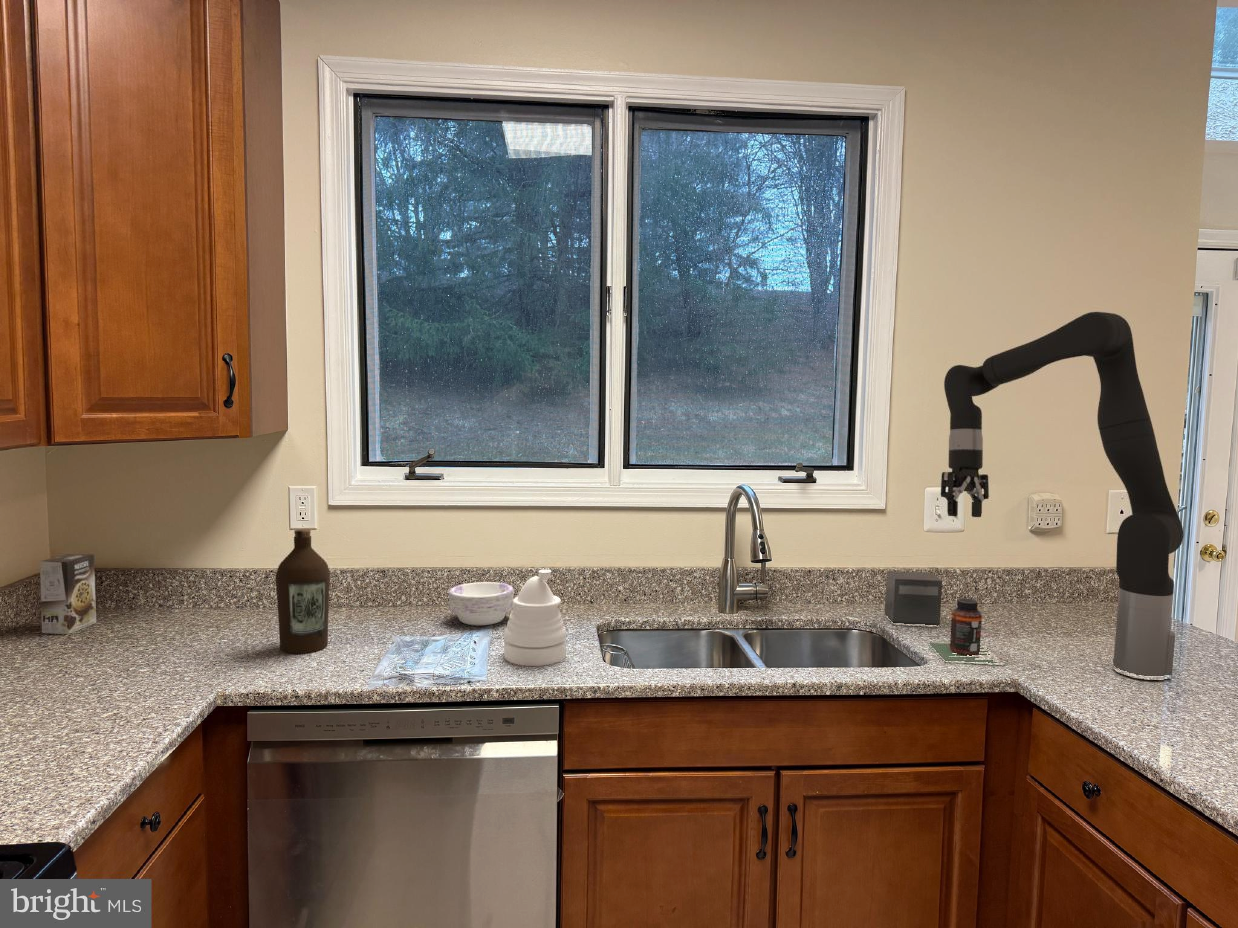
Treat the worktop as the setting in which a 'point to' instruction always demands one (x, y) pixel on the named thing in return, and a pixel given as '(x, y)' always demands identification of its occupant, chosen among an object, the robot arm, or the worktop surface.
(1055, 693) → the worktop surface
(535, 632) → the honey pot
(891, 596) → the charcoal unit
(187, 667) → the worktop surface
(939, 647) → the sage mat
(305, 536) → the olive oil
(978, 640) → the supplement bottle
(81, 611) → the coffee box
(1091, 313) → the robot arm
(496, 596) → the white and purple bowl
